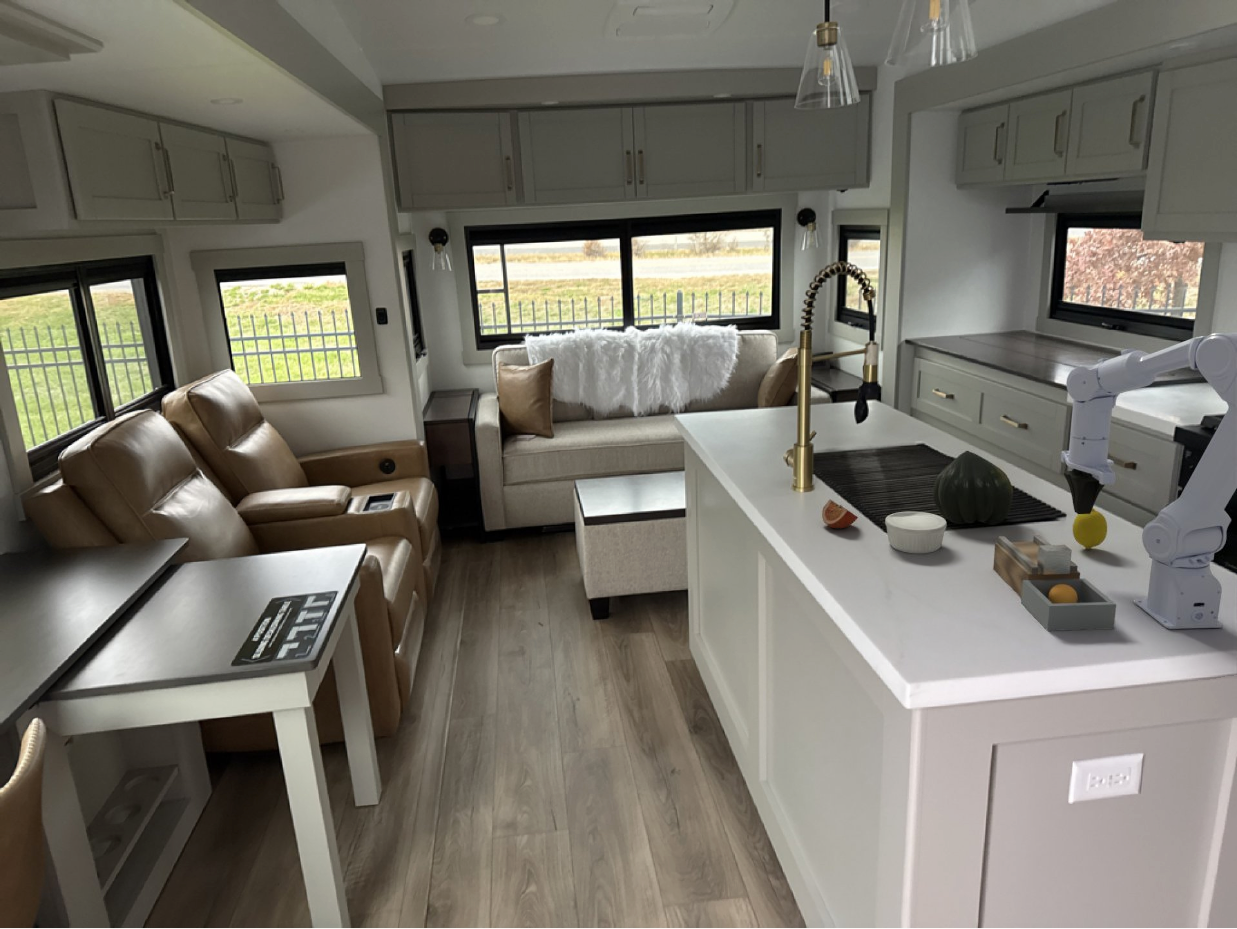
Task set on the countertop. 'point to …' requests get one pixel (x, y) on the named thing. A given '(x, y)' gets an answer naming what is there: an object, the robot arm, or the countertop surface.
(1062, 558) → the plunger
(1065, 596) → the ball
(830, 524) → the fruit slice
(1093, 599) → the grey open tray
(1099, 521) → the lemon
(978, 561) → the countertop surface
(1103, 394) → the robot arm
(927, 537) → the ramekin
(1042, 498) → the countertop surface
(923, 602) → the countertop surface
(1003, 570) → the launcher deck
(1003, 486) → the squash
